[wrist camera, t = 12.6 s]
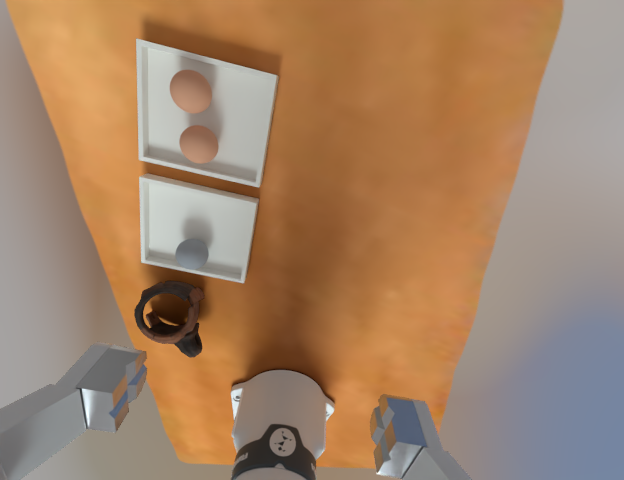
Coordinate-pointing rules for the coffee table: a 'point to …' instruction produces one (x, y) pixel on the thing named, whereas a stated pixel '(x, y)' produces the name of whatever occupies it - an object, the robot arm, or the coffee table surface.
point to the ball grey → (192, 254)
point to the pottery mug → (177, 335)
